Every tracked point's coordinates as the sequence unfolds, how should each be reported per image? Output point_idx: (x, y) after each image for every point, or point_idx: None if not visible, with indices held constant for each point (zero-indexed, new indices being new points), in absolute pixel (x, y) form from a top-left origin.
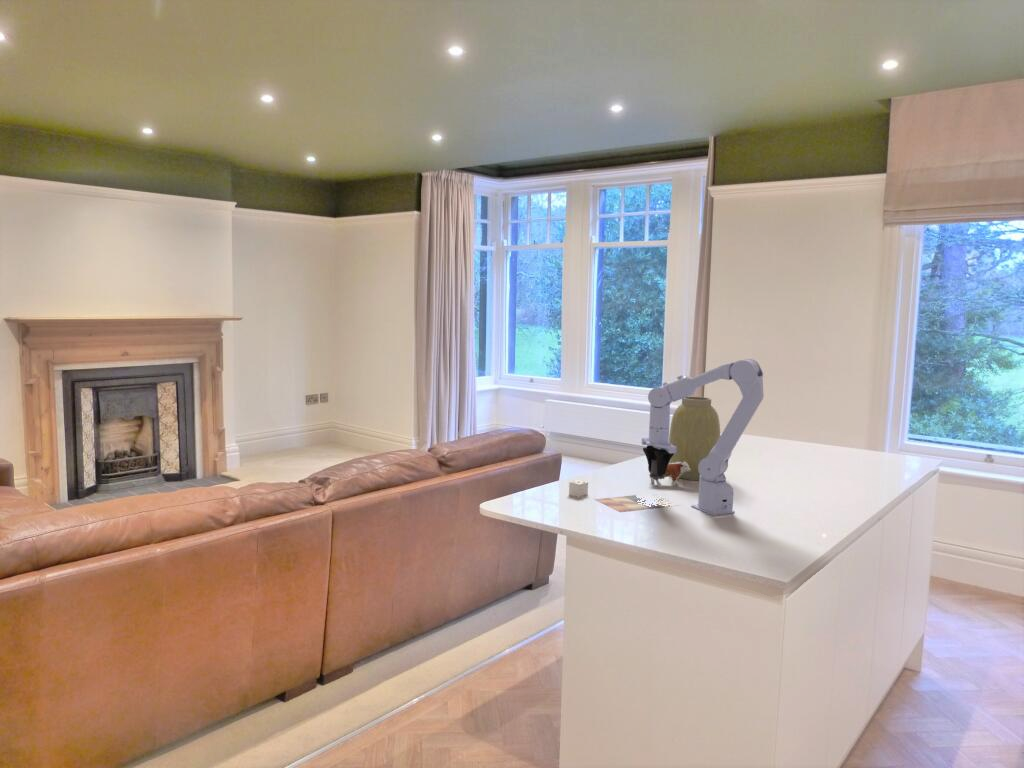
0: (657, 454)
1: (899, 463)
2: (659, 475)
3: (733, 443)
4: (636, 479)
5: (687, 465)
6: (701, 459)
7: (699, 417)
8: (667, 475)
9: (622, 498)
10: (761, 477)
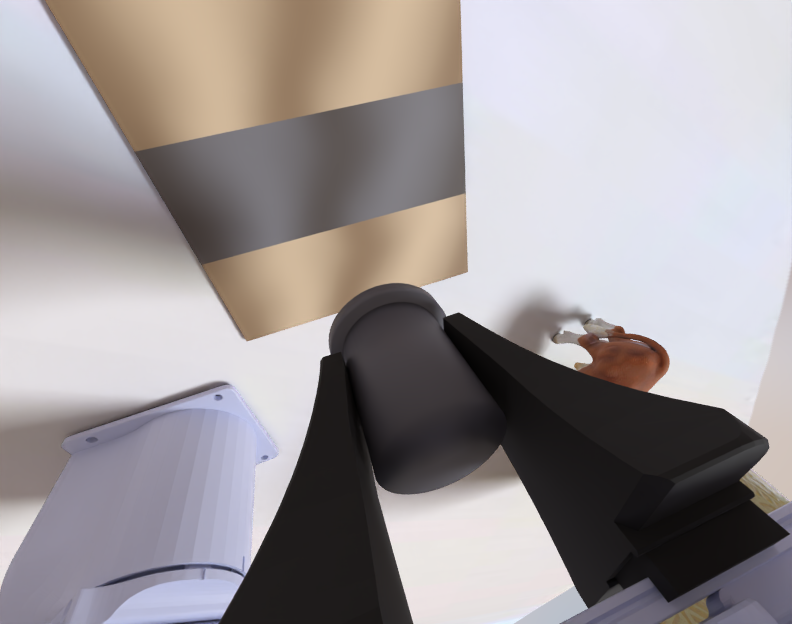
0: (273, 620)
1: (499, 619)
2: (345, 356)
3: None
4: (657, 280)
5: None
6: None
7: None
8: None
9: (419, 47)
10: (510, 528)
